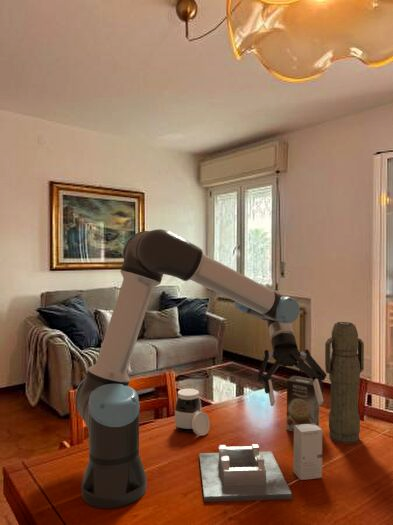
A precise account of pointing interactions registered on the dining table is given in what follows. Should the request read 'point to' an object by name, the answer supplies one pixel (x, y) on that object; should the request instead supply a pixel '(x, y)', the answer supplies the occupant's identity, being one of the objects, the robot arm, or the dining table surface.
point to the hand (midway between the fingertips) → (297, 403)
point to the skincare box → (307, 451)
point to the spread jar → (190, 413)
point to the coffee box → (301, 402)
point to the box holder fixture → (242, 475)
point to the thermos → (344, 381)
